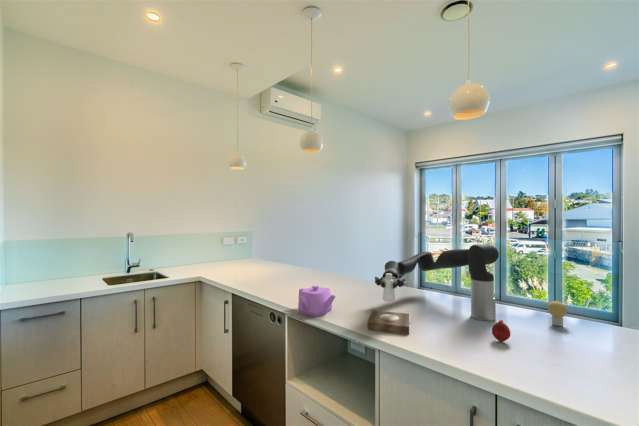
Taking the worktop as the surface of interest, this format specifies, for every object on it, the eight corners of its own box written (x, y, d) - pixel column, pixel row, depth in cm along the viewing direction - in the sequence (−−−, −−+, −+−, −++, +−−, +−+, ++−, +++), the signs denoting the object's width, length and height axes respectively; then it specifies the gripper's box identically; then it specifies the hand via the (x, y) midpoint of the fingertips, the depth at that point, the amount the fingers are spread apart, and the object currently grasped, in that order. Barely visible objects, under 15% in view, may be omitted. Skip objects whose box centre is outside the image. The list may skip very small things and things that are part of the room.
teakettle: (328, 305, 148) (328, 281, 148) (336, 316, 131) (336, 289, 132) (296, 307, 145) (296, 282, 145) (299, 318, 128) (299, 291, 129)
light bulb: (548, 321, 125) (548, 298, 125) (568, 325, 120) (567, 301, 121) (546, 325, 121) (546, 301, 121) (566, 329, 116) (566, 304, 116)
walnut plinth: (409, 320, 126) (408, 313, 126) (409, 334, 111) (409, 326, 111) (372, 316, 131) (372, 309, 131) (367, 329, 115) (367, 321, 115)
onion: (510, 346, 100) (510, 324, 100) (491, 343, 103) (491, 320, 103) (510, 340, 105) (510, 319, 105) (491, 337, 108) (491, 316, 108)
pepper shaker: (381, 297, 124) (381, 272, 124) (393, 298, 124) (393, 272, 124) (383, 301, 118) (383, 275, 118) (396, 301, 118) (396, 275, 118)
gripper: (406, 286, 132) (406, 296, 116) (375, 284, 137) (371, 293, 120) (406, 270, 133) (406, 277, 116) (375, 268, 137) (371, 275, 120)
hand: (388, 285), depth 118 cm, fingers closed on pepper shaker, 3 cm apart
